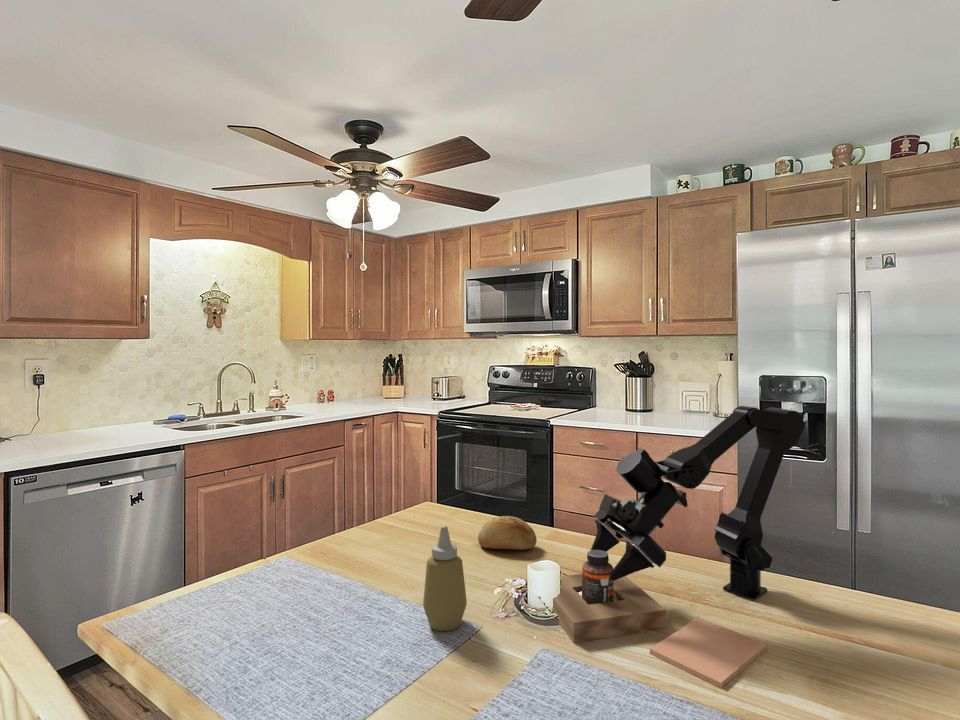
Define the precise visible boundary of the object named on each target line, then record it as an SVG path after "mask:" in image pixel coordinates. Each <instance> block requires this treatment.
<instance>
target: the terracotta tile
mask: <svg viewBox="0 0 960 720" xmlns="http://www.w3.org/2000/svg"><path fill="white" fill-rule="evenodd" d="M767 649H768V644H767V643H765V642H762V641H760V640H757V639H756V638H752V637H749V636H747V635H745V634H743V633H740V632H737V631H735V630H732V629H730V628H728V627H725V626H722V625H720V624H717V623H715V622H712V621H709V620H708V619H705V618H702V617H700V616H699V617H696V618H694V620H692V621H691V622H689V623H687V624H686V625H684V626H682V627H681V628H680V629H678V630H676V631H675V632H673V633H672V634H670V635H669V636H667V637H666V638H664V639H662V640H661V641H660V642H658V643H656V644H655V645H653V646H651V647H650V648H649V654H650V655H652V656H655V657H656V658H658V659H660V660H662V661H664V662H666V663H667V664H671V665H673V666H674V667H677V668H678V669H681V670H683V671H686V672H687V673H689V674H692V675H693V676H695V677H697V678H699V679H701V680H703V681H705V682H708V683H709V684H711V685H713V686H716V687H717V688H720V689H722V688H723V687H724V686H726V685H727V684H728V683H729V682H730V681H731V680H733V678H735V677H736V676H737V675H739V674H740V672H742V671H743V670H744V669H745V668H747V667H748V666H749V665H750V664H751V663H752V662H753V661H755V660H756V659H757V658H758V657H759V656H761V655H762V654H763V653H764V652H765V651H767Z"/></svg>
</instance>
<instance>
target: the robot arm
mask: <svg viewBox="0 0 960 720" xmlns="http://www.w3.org/2000/svg"><path fill="white" fill-rule="evenodd" d="M755 428H756V429H755ZM805 428H806V422H805V421H804V418H803V416H802V414H801V413H800V412H799V411H798V410H792V409H785V408H777V407H767V408H765V409H759V408H758V407H753V406H745V405H739V406H737V407H736V408H734V409H733V411H732V413H731V414H729V415H728V416H727V417H726V418H725V419H723V420H722V421H721V422H720V423H719V424H717V425H716V426H714V427H713V429H711V430H710V431H709V432H708V433H706V434H705V435H704V436H703V437H702V438H700V439H699V440H698V441H696V443H694V444H692V445H690V446H687V447H683V448H681V449H678V450H676V451H674V452H673V453H671V454H670V455H667V456H666V457H665V459H663V460H657V461H654V460H653V459H652V457H651V456H650V453H648V451H646V449H642V448H640V447H639V448H637V449H636V450H635V451H633V452H631V453H629V454H627V455H626V456H625V457H624V456H623V457H622V458H621V459H620V460H619V462H618V463H617V466H616V469H615V470H616V473H617V474H618V475H619V476H620V477H621V478H622V479H623V480H624V481H625V482H626V483H627V484H628V485H629V486H630V487H631V488H632V490H634V491H635V492H636V493H638V494H640V493H641V494H642V495H641V496H640V497H639V498H638V499H637V500H636V499H634V498H632V499H629V500H628V499H627V498H623V499H622V500H620V499H618V498H615V497H614V496H612V495H608V494H606V493H605V494H604V495H603V498H602V500H601V503H600V504H599V505H600V506H599V508H598V511H597V512H596V513H595V514H594V516H593V517H594V518H595V520H594V521H595V522H594V523H595V524H596V529H597V530H596V531H597V532H596V536H595V539H594V541H593V543H592V545H591V548H590V550H602V551H605V552H607V553H608V551H610V550H611V549H612V548H614V547H615V546H616V545H618V544H620V540H619V539H623V538H624V539H626V542H625V552H624V554H623V555H622V557H621V558H620V560H618V562H617V564H616V565H615V567H613V571H612V573H611V574H610V576H609V577H610V578H611V579H612V580H613V581H615V580H617V579H619V578H622V577H624V576H626V577H627V576H629V575H632V574H634V573H636V572H639V571H642V570H645V569H648V568H652V569H654V568H655V566H657V567H658V568H661V567H662V565H664V563H665V562H666V561H667V552H666V551H665V549H663V548H662V547H661V545H659V544H658V542H656V540H654V538H653V537H652V536H650V535H651V534H652V533H653V531H655V530H656V528H657V527H658V528H659V529H660V530H661V529H662V528H663V527H664V526H665V524H664V523H663V522H662V521H663V520H664V519H665V517H666V516H667V515H668V514H669V512H670V511H671V510H672V509H673V508H674V507H675V505H676V504H678V505H680V506H681V507H684V508H688V499H687V492H685V491H683V490H680V489H679V490H678V489H677V487H675V485H677V486H680V487H682V488H685V489H688V490H690V489H691V490H694V489H696V488H697V487H699V486H700V485H701V484H702V483H703V482H704V480H706V478H707V477H708V476H709V474H710V472H711V469H712V466H713V464H714V463H715V462H716V460H718V459H719V458H720V457H722V455H724V453H726V452H727V451H728V450H730V449H731V448H732V447H734V445H736V444H737V443H738V442H739V441H740V440H741V439H743V438H744V437H745V436H746V435H747V434H748V433H749V432H750V431H752V430H753V429H755V434H756V439H757V445H758V446H757V448H756V451H755V453H754V455H753V459H752V462H751V464H750V467H749V470H748V472H747V474H746V477H745V481H744V482H743V486H742V489H741V491H740V494H739V496H738V499H737V502H736V504H735V507H734V508H733V509H732V510H731V511H730V512H729V513H728V514H727V513H725V512H721V513H720V515H719V518H718V521H717V524H716V525H715V527H714V528H713V530H714V531H715V533H714V540H715V542H716V545H717V546H718V547H719V548H720V549H719V550H720V553H721V554H722V556H725V557H727V558H729V583H727V584H724V585H723V587H722V589H723V591H726V592H729V593H733V594H735V595H738V596H741V597H743V598H746V599H750V600H753V601H756V600H757V599H758V598H760V597H761V596H762V595H764V594H766V593H767V592H768V588H767V587H765V586H762V584H761V581H762V579H761V578H762V577H761V576H762V574H761V572H762V571H765V570H766V569H769V568H771V565H772V561H773V556H771V554H769V552H768V551H767V550H766V549H764V548H765V547H763V546H762V543H763V542H762V541H763V537H764V532H763V527H762V523H761V518H762V516H763V515H762V514H763V513H764V509H765V507H766V504H767V502H768V499H769V495H770V494H771V490H772V488H773V484H774V483H775V480H776V478H777V474H778V472H779V468H780V467H781V464H782V461H783V458H784V456H785V454H786V453H787V452H789V451H790V450H791V449H792V448H793V447H795V445H797V444H798V442H799V440H800V438H801V437H802V435H803V433H804V431H805ZM662 478H664V479H666V481H664V480H663V479H662ZM668 481H669V482H668Z"/></svg>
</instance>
